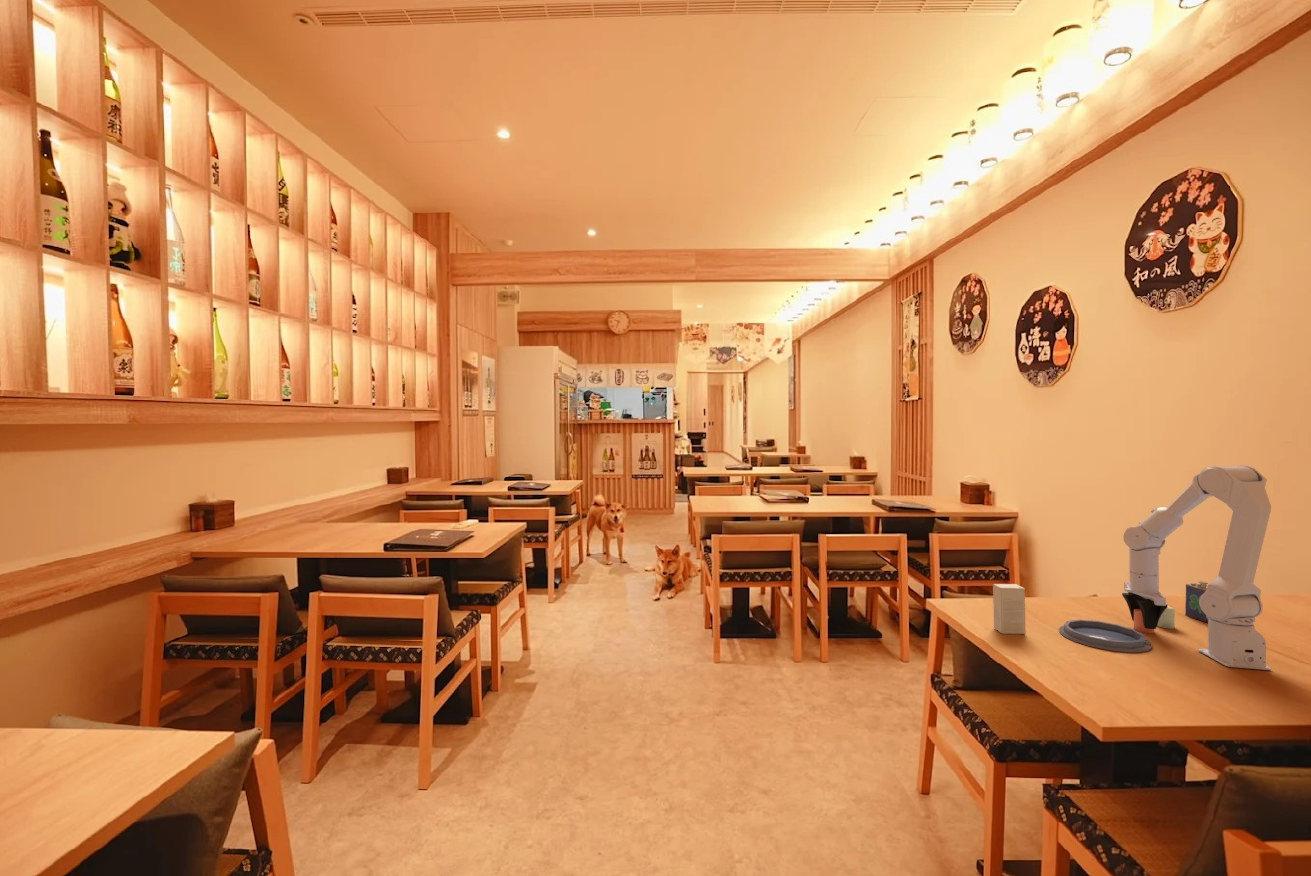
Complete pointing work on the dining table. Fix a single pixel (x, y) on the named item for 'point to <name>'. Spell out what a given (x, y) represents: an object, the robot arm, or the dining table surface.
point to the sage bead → (1167, 618)
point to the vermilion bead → (1140, 622)
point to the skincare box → (1009, 608)
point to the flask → (1195, 601)
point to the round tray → (1105, 636)
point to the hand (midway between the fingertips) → (1143, 624)
